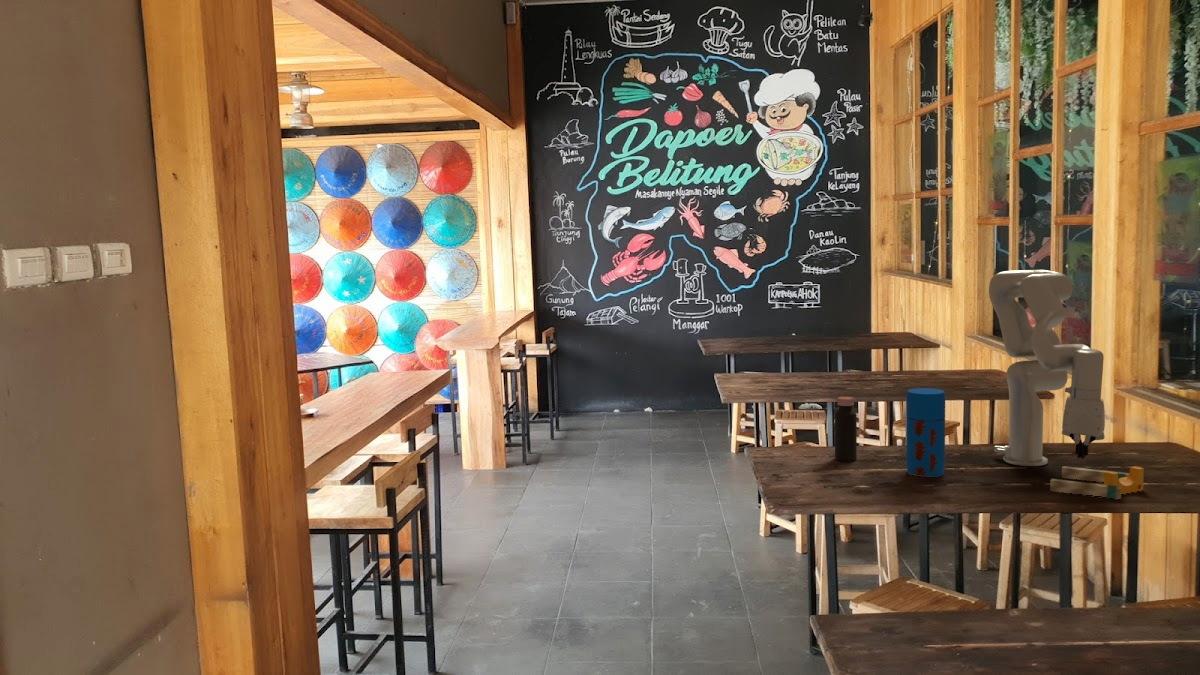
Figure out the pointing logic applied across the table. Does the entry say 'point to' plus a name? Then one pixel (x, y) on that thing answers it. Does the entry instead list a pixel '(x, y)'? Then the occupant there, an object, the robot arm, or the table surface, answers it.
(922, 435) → the thermos
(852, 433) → the bottle
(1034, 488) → the table surface
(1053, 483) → the channel
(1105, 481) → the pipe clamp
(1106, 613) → the table surface
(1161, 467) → the table surface
